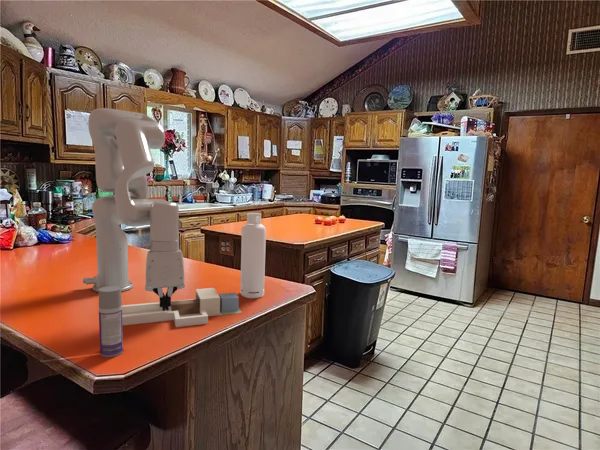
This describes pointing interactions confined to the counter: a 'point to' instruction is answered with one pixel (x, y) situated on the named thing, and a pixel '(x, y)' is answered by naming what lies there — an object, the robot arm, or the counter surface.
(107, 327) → the container
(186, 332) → the counter surface
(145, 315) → the lane
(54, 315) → the counter surface
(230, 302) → the block
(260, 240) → the bottle
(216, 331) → the counter surface
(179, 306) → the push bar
